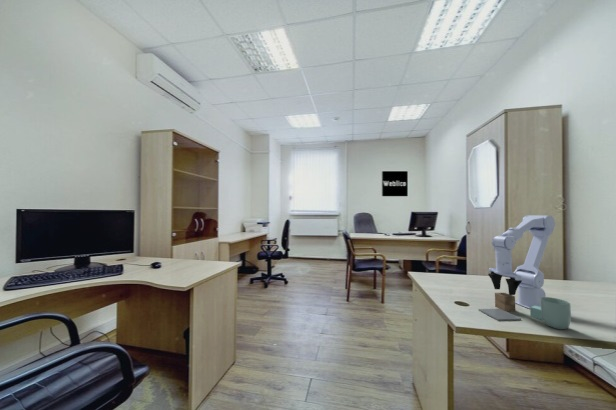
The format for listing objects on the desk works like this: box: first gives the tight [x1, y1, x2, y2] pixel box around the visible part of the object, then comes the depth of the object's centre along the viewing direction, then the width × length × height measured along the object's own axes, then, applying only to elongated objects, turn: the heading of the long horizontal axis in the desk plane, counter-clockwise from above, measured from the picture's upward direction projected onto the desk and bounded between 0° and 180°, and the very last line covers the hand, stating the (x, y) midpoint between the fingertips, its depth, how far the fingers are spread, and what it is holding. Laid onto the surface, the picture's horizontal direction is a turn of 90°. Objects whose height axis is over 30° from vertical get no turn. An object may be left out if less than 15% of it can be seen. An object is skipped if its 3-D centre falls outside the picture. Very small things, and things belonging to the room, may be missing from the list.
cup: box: [541, 296, 572, 330], centre depth 89 cm, size 8×8×10 cm
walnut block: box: [494, 292, 516, 312], centre depth 106 cm, size 5×5×6 cm
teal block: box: [529, 306, 543, 321], centre depth 97 cm, size 4×4×4 cm
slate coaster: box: [478, 308, 522, 322], centre depth 100 cm, size 10×10×1 cm
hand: (504, 291), depth 106 cm, fingers open, 7 cm apart
